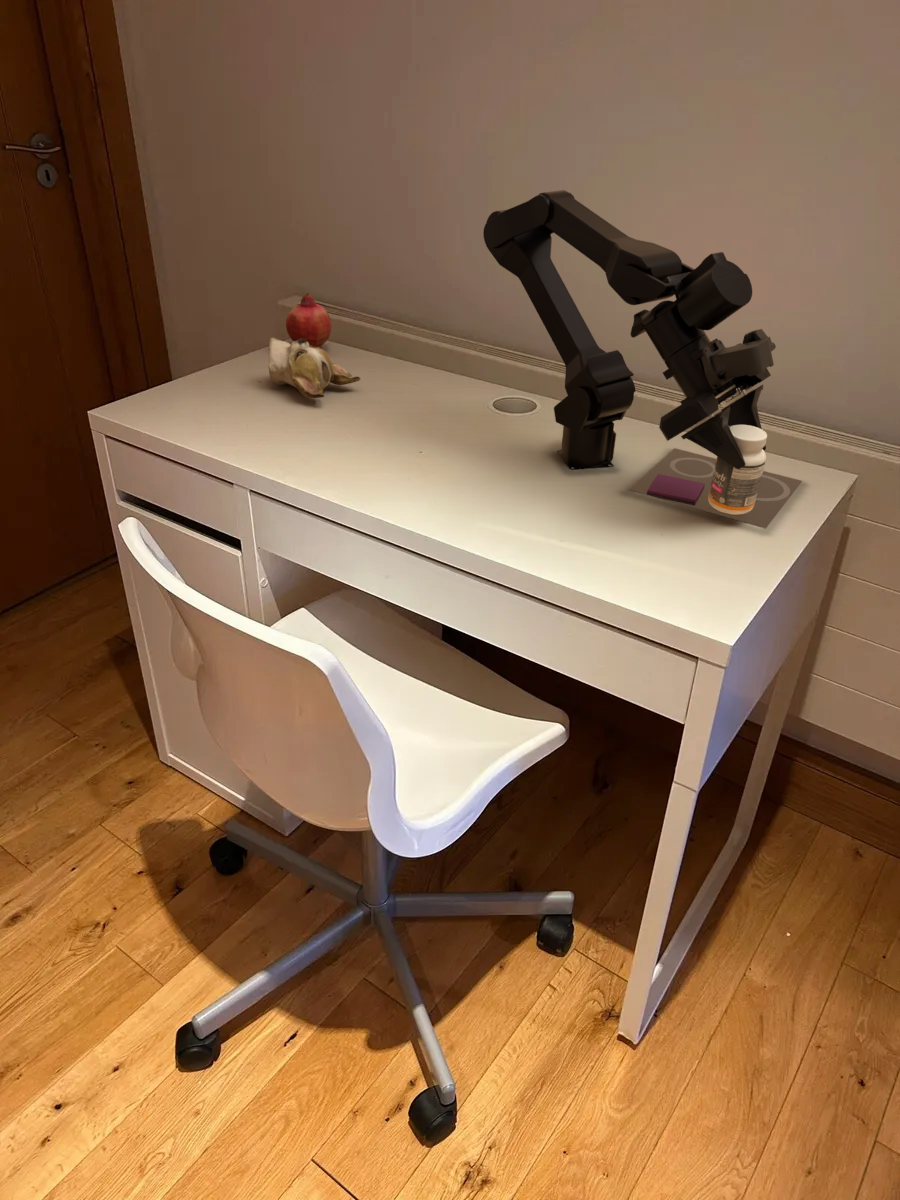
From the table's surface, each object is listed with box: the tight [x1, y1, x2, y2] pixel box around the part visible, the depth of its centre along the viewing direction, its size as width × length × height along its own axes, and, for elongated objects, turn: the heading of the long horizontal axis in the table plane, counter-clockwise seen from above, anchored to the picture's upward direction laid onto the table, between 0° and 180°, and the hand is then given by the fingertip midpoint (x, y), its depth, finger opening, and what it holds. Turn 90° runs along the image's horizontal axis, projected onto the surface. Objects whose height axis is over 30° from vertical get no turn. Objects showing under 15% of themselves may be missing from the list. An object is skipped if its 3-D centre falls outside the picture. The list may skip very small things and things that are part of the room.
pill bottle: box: [708, 425, 768, 514], centre depth 115 cm, size 6×6×10 cm
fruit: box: [285, 292, 332, 348], centre depth 167 cm, size 8×8×10 cm
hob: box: [628, 447, 803, 529], centre depth 126 cm, size 16×18×1 cm
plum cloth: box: [647, 474, 705, 503], centre depth 124 cm, size 6×6×1 cm
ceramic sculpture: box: [267, 337, 361, 399], centre depth 151 cm, size 11×9×15 cm
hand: (752, 459), depth 113 cm, fingers closed on pill bottle, 6 cm apart
